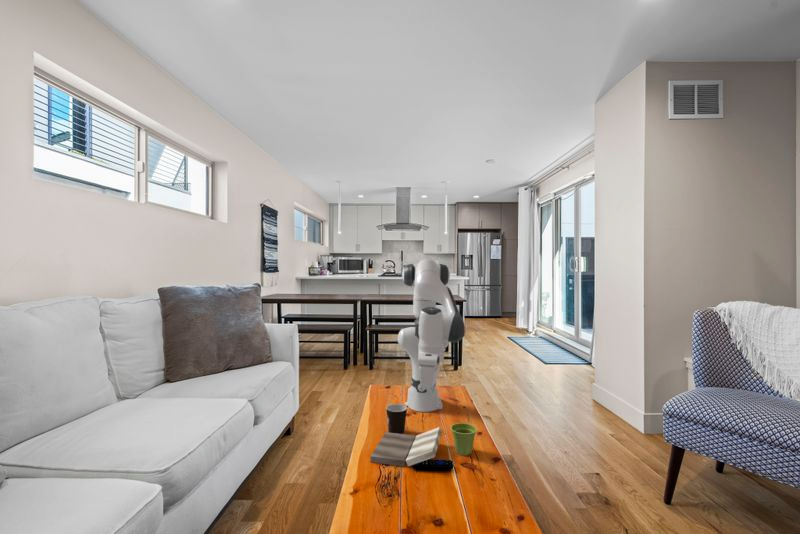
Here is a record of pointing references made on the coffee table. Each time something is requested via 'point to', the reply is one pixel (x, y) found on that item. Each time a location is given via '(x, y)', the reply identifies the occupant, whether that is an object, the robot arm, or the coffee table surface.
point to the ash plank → (424, 446)
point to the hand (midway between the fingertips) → (430, 394)
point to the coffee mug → (396, 418)
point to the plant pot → (463, 437)
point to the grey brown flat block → (393, 449)
